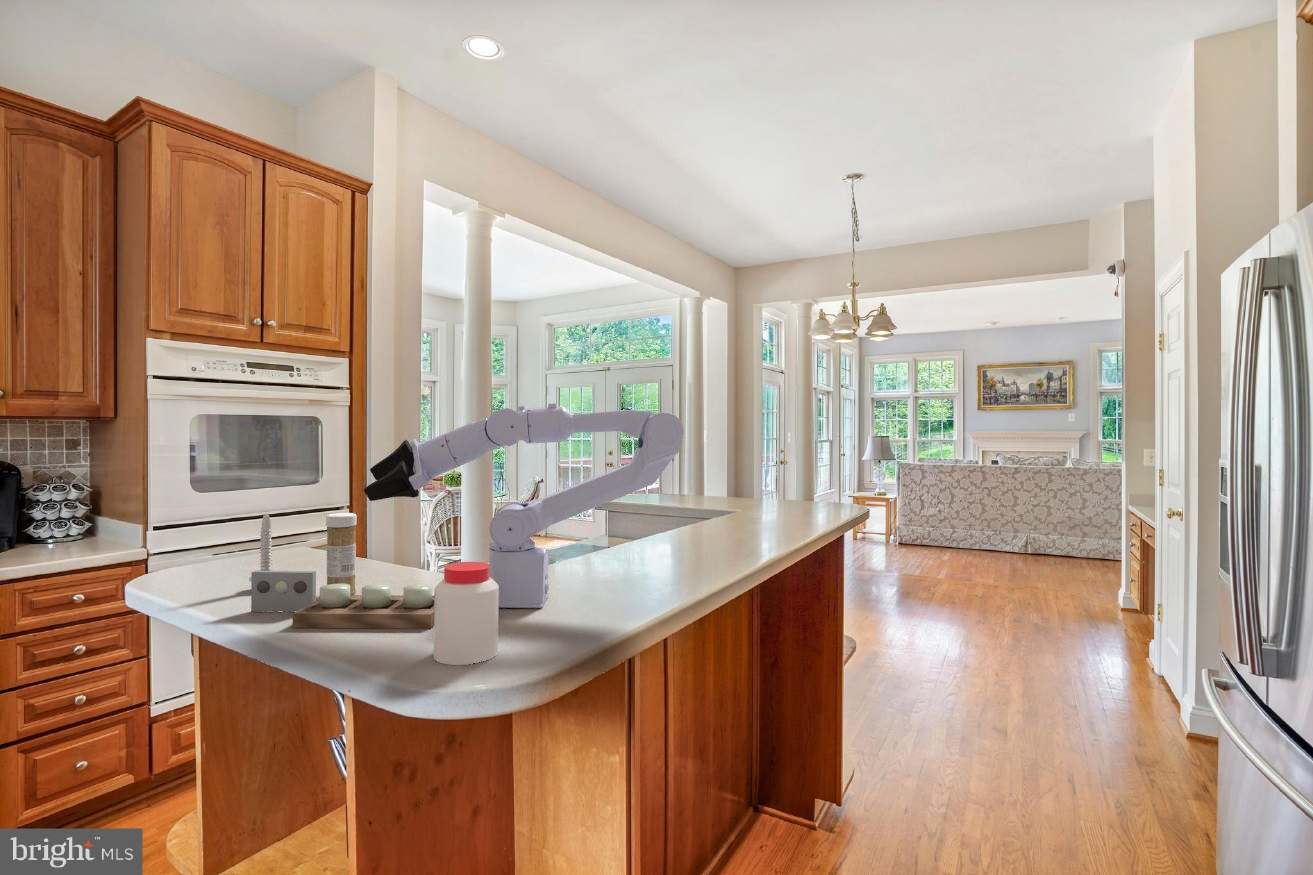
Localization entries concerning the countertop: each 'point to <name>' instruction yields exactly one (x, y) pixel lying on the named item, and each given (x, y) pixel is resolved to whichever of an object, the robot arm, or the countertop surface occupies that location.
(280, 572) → the card
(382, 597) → the button mid
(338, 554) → the sprinkles bottle
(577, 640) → the countertop surface
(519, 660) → the countertop surface
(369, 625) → the wooden compartment tray
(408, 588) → the button
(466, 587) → the pill bottle
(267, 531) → the screw
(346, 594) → the button
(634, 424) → the robot arm
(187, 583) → the countertop surface
